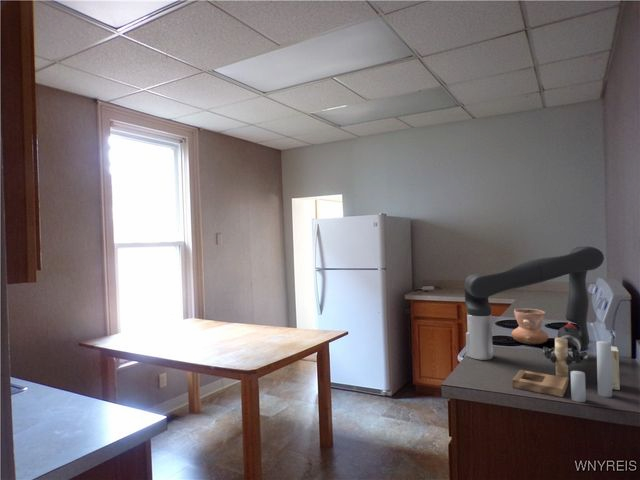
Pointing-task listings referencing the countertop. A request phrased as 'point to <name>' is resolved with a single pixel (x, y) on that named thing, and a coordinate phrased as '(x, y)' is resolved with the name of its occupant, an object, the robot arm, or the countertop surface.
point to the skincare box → (615, 368)
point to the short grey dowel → (578, 386)
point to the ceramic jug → (529, 326)
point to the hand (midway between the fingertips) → (560, 360)
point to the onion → (570, 325)
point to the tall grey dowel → (604, 369)
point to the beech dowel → (561, 357)
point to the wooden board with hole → (540, 383)
